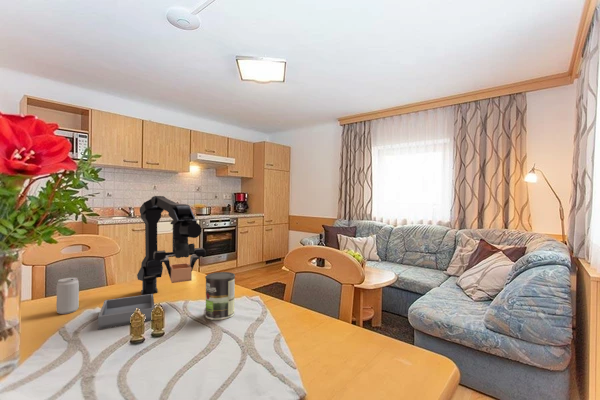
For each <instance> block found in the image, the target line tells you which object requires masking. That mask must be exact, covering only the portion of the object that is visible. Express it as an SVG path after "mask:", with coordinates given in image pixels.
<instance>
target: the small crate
mask: <svg viewBox="0 0 600 400" xmlns="http://www.w3.org/2000/svg"><path fill="white" fill-rule="evenodd" d="M170 271H171V277H169V279H170V282H171V284H175V283H183V282H184V283H185V282H190V281H192V279H193V278H192V271H193V270H192V268H191V266H190V263H188V262H184V263H183V262H182V263H173V264H171V263H170Z"/></svg>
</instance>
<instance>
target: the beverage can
mask: <svg viewBox="0 0 600 400" xmlns="http://www.w3.org/2000/svg"><path fill="white" fill-rule="evenodd" d="M79 285H80V281H79V280H78V277H65V278H61V279H59V280H57V283H56V312H57V313H58V314H60V315H67V314H71V313H74V312H76V311H77V310H78V309H80V308H79V306H80V305H79V303H80V302H79V299H80V296H79V295H80V291H79V290H80V287H79Z"/></svg>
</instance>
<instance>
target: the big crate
mask: <svg viewBox="0 0 600 400" xmlns="http://www.w3.org/2000/svg"><path fill="white" fill-rule="evenodd" d="M136 308H139V309H140V311H141V312H142V313H143V314H145V316H146V319H145V322H150V320H151V312H152V310H153V308H155V299H154V293H150V294H143V295H141V294H140V295H136V296H135V295H134V296H127V297H119V298H112V299H105V300H104V301H103V304H102V306H101V309H100V311H99V314H98V317H97V330H98V331H99V330H105V329H110V327H111V328H116V327H121V326H120V325H122V326H126V325H125V324H128V325H130V324H129V323H130V317H131V315H132V314H133V313H134V311H135V310H136ZM151 321H152V320H151ZM115 326H116V327H115Z"/></svg>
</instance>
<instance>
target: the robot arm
mask: <svg viewBox="0 0 600 400" xmlns="http://www.w3.org/2000/svg"><path fill="white" fill-rule="evenodd" d="M164 211H166V212H167V213H168V216H169V217H170V219H172V220H171V221H170V225H172V251H168V252H166V250H158V223H159V222H160V220H161V217H162V213H163V212H164ZM139 214H140V219H141V220H142V222H143V224H145V225H144V226H145V227H144V229H145V231H144V233H145V234H144V236H145V237H144V238H145V239H144V240H145V241H144V243H145V246H144V247H145V249H144V250H145V256H144V258H143V259H142V261H141V263H140V266H141V267H140V268H139V269H138V271H137V274H136V278H137V280H138V281H141V282H142V284H141V285H142V286H141V291H140V293H141V294H140V295H148V294H157V293H159V291H158V286H157V282H158V281H157V280H158V279H157V278H162V276H163V275H162V274H163V270H164V267H163V263H164V265H165V267H166V270H167V273H168V276H169V278H170V277H171V271H170V265H171V263H170V258H173V257H175V258H176V259H179V258H190V259H189V265H190V266H191V268H192V271H193V269H194V266H195V264H196V263H197V261H198V260H200V259H201V258H202V257H206V256H207V250H206V249H205V248H203V247H197V248H195V247H196V246H195V243H189V238H191V239H197V238H198V237H199V236H200V235H201V233H202V227H201V225H200V224H199V223H198V222H197V221H198V220H197V219H196V216H195V214H194V212H193V210H192V207H191V206H190V205H189V204H186V203H177V202H174V201H173V200H171V199H168V198H166V196H164V195H154V196H152V197H150V199H148V200H147V201H144V202H143V203H142V205H141V206H140V207H139Z"/></svg>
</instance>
